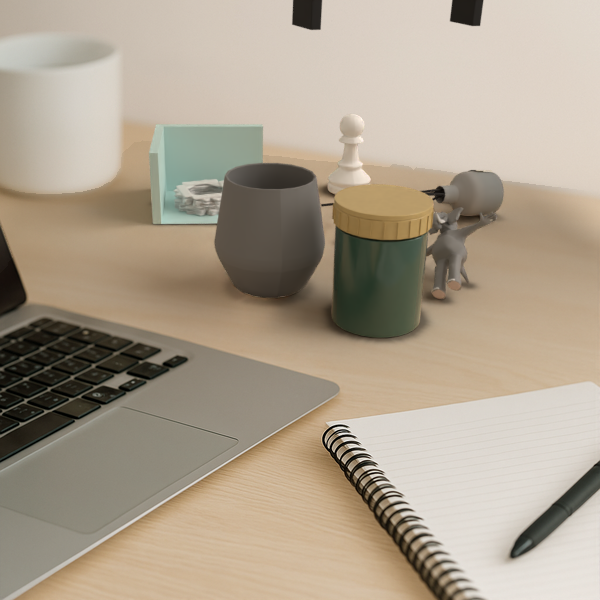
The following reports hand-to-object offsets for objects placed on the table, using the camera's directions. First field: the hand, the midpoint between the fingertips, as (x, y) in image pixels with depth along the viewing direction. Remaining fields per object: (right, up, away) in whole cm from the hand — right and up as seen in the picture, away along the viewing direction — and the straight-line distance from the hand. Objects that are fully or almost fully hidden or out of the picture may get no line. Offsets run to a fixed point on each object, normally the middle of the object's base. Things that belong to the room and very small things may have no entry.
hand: (389, 26), depth 59 cm
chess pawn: (-1, -7, +38) cm, 39 cm away
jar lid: (0, -12, +4) cm, 13 cm away
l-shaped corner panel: (-16, -9, +32) cm, 37 cm away
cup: (-9, -19, +13) cm, 25 cm away
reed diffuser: (+6, -12, +28) cm, 31 cm away
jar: (0, -21, +8) cm, 23 cm away
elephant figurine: (+7, -18, +15) cm, 25 cm away
